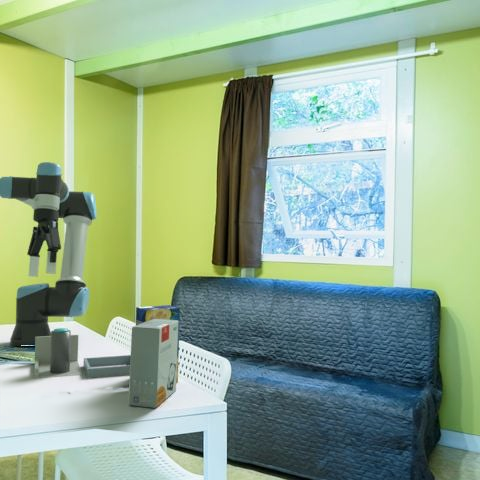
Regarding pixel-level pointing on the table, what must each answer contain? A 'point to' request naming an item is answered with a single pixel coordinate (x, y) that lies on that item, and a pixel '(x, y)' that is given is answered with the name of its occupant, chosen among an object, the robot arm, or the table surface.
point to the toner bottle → (60, 351)
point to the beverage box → (159, 313)
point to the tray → (107, 370)
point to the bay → (44, 358)
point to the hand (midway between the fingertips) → (41, 275)
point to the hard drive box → (153, 362)
